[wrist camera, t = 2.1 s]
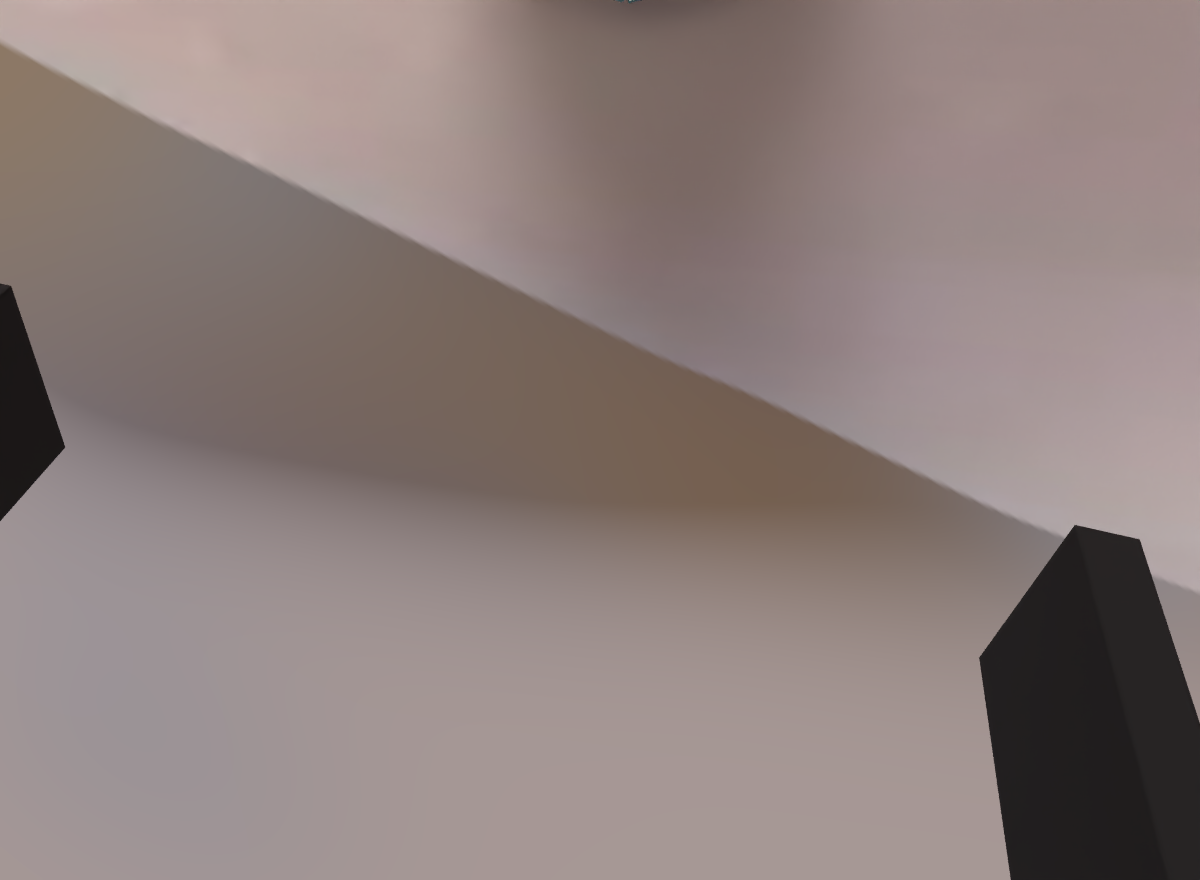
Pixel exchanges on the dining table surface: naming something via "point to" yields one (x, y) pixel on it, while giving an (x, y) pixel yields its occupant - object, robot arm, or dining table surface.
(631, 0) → the crock
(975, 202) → the dining table surface
